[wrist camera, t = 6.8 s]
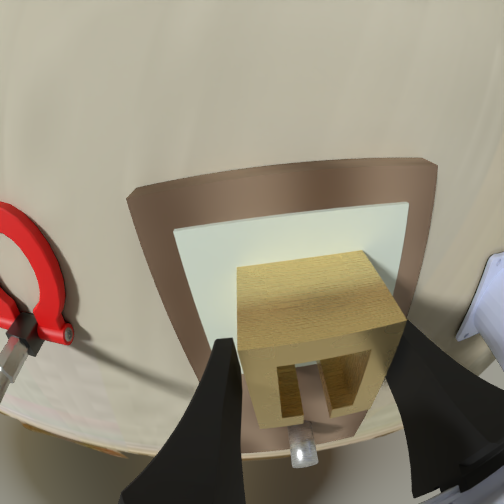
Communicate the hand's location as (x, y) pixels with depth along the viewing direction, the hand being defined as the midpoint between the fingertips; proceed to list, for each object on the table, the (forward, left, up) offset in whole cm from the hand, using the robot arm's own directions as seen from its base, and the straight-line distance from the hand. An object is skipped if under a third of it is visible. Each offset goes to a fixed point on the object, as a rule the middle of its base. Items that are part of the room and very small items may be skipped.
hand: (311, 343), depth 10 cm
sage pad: (0, 0, -2) cm, 2 cm away
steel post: (0, +14, -2) cm, 14 cm away
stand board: (0, +8, -3) cm, 8 cm away
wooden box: (0, 0, -2) cm, 2 cm away
